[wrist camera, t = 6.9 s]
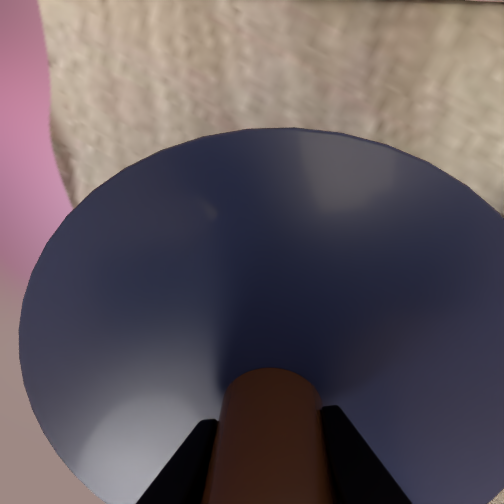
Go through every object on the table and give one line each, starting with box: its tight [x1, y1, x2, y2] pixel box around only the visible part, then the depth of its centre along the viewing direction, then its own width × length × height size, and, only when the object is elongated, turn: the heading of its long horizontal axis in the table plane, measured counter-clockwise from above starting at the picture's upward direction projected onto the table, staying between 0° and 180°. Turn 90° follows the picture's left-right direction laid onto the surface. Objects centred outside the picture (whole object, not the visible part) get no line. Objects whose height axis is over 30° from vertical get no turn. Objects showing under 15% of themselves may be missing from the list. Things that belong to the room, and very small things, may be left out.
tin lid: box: [19, 127, 504, 504], centre depth 7 cm, size 14×14×6 cm
